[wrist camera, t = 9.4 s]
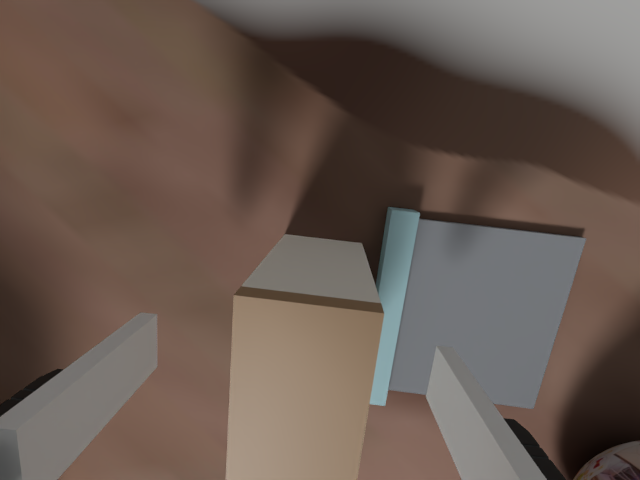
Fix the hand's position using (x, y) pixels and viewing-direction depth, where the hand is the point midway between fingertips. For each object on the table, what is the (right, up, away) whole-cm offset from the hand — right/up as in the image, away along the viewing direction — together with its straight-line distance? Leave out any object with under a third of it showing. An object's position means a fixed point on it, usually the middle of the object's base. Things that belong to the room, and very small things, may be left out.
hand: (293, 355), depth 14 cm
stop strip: (+6, +1, +6) cm, 8 cm away
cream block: (+1, +2, +6) cm, 7 cm away
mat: (+12, 0, +6) cm, 13 cm away
